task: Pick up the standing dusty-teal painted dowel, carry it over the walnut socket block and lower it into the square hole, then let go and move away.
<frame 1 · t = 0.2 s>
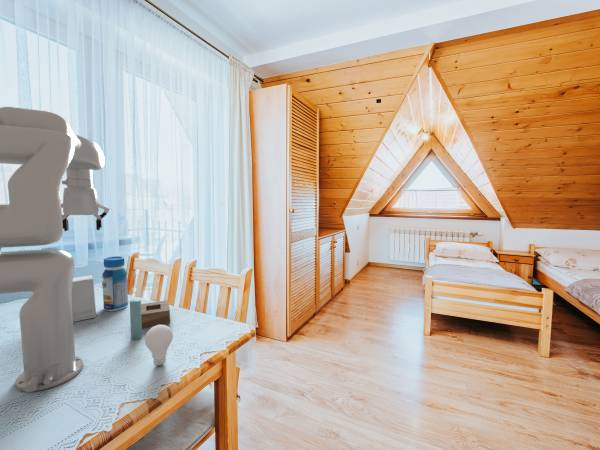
hand: (82, 230, 106), 31 cm above the table, tool pointing down, fingers open, 9 cm apart
skincare box: (81, 318, 102), on the table
beverage bottle: (116, 307, 112), on the table
light bulb: (159, 365, 75), on the table
socket block: (153, 320, 101), on the table
peg: (136, 337, 89), on the table
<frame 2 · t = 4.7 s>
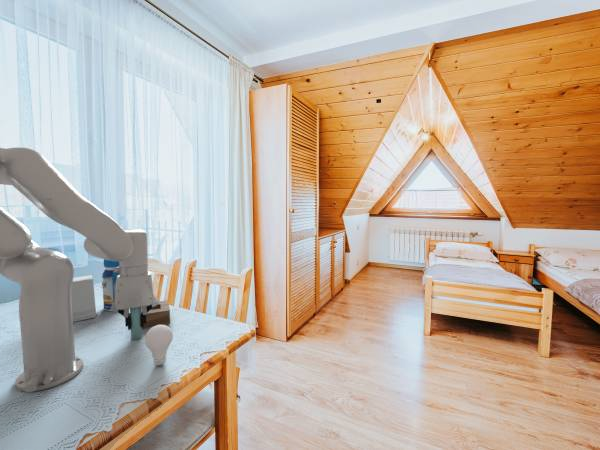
hand: (136, 326, 89), 4 cm above the table, tool pointing down, fingers closed on peg, 3 cm apart
peg: (136, 337, 89), on the table, touching gripper
everything else where it was.
when the fingers open (6 cm above the table, at t = 9.5 s): peg drops 2 cm, resting on socket block.
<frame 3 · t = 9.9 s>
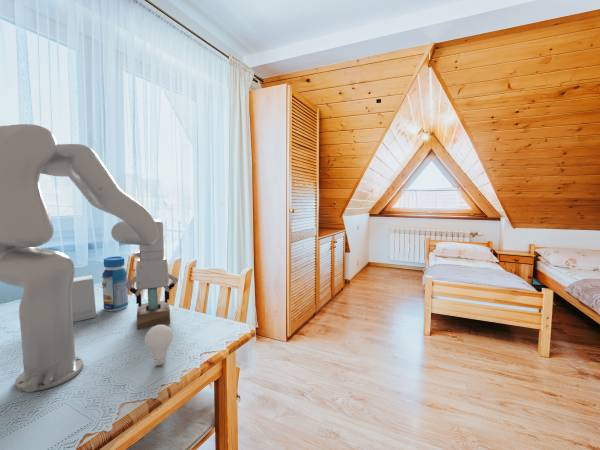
hand: (153, 303, 101), 7 cm above the table, tool pointing down, fingers open, 7 cm apart
peg: (153, 320, 101), resting on socket block
everything else where it was.
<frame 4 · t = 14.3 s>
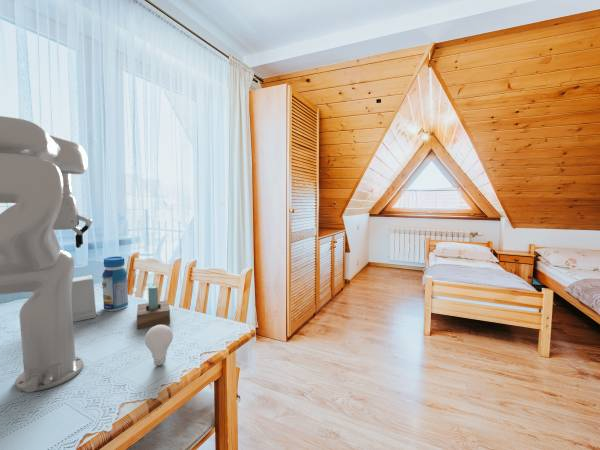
hand: (58, 248, 86), 28 cm above the table, tool pointing down, fingers open, 9 cm apart
nothing on the table moved.
at the end: peg 0.0 cm off-centre on the socket block, point 0.2 cm above the socket block's base; peg tilted 1°; the gripper is holding nothing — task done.
